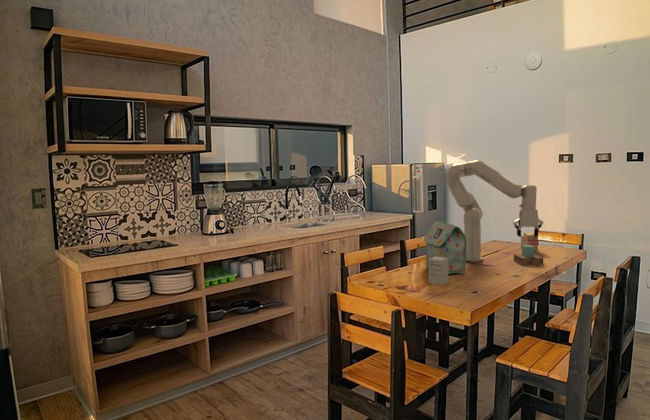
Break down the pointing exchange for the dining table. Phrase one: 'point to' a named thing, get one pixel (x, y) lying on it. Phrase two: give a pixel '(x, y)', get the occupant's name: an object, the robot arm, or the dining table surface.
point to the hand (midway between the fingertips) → (527, 236)
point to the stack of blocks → (530, 240)
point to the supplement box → (438, 270)
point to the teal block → (528, 250)
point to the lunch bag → (447, 246)
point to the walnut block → (528, 260)
